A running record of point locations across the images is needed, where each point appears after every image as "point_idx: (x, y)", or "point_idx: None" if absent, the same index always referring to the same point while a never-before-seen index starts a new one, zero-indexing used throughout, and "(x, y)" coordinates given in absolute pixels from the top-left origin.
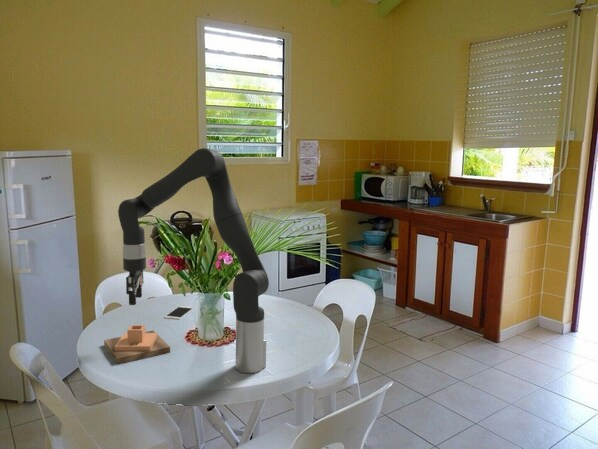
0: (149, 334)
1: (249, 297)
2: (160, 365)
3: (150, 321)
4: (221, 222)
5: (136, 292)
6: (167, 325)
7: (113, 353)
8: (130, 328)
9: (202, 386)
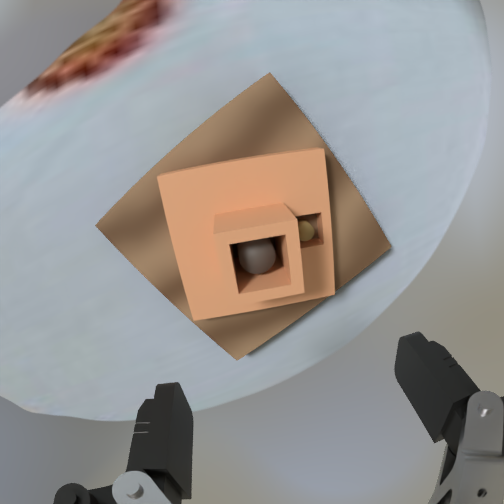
0: (183, 207)
1: None
2: (383, 87)
3: (4, 285)
4: None
5: (189, 448)
6: (8, 208)
7: (348, 280)
8: (279, 288)
9: None
